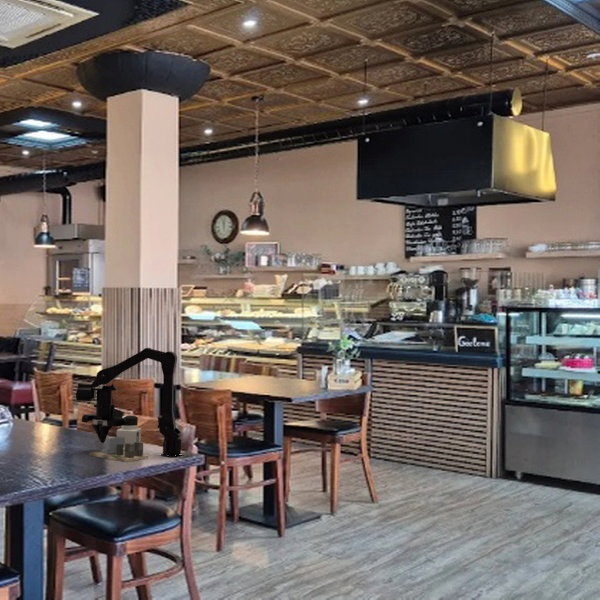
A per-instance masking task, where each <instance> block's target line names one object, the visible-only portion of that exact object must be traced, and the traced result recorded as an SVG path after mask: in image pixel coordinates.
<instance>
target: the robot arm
mask: <svg viewBox="0 0 600 600" xmlns="http://www.w3.org/2000/svg"><path fill="white" fill-rule="evenodd" d="M147 359H149V360H152V361H156V362H158V363H160V366H161V371H162V375H163V382H162V383H163V384H162V385H163V386H162V414H161V415H159V416H158V417H157V422H158V425H157V429H158V430H159V433H160V434H161V436H163V442H162V453H160V454H161V455H160V456H163V455H169V456H175V455H179V454H182V439H181V435H182V431H180V430H179V428H177V423H176V418H175V414H174V386H175V385H174V384H175V382H174V377H175V371H176V369H177V362H178V356H177V354H176V353H175V352H174V351H171V350H170V351H162V350H158V349H154V348H151V347H145V348H143V349H142V350H141V351H139V352H137V353H135V354H134V355H132V356H130V357H128V358H126V359H124V360H123V361H121V362H119V363H117V364H114V365H111V366H108V367H105V368H103V369H100V370H99V371H98V372H97V373H96V377H95V379H94V381H92V383H82V382H80V383H77V388H76V392H75V400H76V401H77V402H93V400H95V399H96V404H93V408H96V409H95V413H90V414H89V413H88V414H83V415H82V416H81V423H85V424H87V423H88V422H92V424H91V426H92V427H93V429H94V430H95V432H96V435H97V437H98V439H99V442H100V443H101V444H104V443H106V439H107V437H108V435H109V432H110V430H111V429H112V428H114V427H115V428H116V427H121V426H124V425H125V419H124V418H122V417H123V416H124V413H125V412H124V411H122V410H119V409H118V408H117V409H116V408H115V404H112V402H113V391H114V392H115V391H118V387H117V386H116V385H115V384H114V383H112V384H111V382H113V381H114V380H116V379H117V378H119V376H120V375H121V374H122V373H124V372H126V371H127V370H129V369H131V368H134V367H135V366H136V365H138V364H140V363H142V362H144V361H146V360H147ZM108 384H111V385H108ZM100 386H102V387H100ZM169 456H168V457H169ZM175 457H176V456H175Z"/></svg>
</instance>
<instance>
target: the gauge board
mask: <svg viewBox="0 0 600 600" xmlns="http://www.w3.org/2000/svg"><path fill="white" fill-rule="evenodd" d="M89 456H91V457H97V458H102V459H107V460H112V461H113V460H114V461H119V462H125V463H129V462H134V461H139V459H141V460H146V459H145V458H147V459H149V455H147V454H144V442H134V444H132V443H126V444H125V452H123V455H122V456H118V455H117V453H115V454H106V453H102V450H100V451H92V452H89Z"/></svg>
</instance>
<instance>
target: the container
mask: <svg viewBox="0 0 600 600" xmlns="http://www.w3.org/2000/svg"><path fill="white" fill-rule="evenodd" d="M122 418H124V419H125V425H124V426H120V427H121V428H119V429H117V430H116V438H118V437H124V438H125V444H126V443H132V444H134V442H141V441H142V439H141V438H142V436H141V435H142V428H140V427H138V423H139V421H138V420H139V418H138V416H136V415H129V414H128V415H123V416H122ZM124 448H125V447H124Z"/></svg>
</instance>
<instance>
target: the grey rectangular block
mask: <svg viewBox="0 0 600 600" xmlns="http://www.w3.org/2000/svg"><path fill="white" fill-rule="evenodd" d="M117 444H123V452H125V448H124V447H125V438H124V437H118V438H117V437H112V438H111V437H110V438H106V440H105V448H104V449H102V450H101V451H102V453H106V454H115V453H117Z"/></svg>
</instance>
